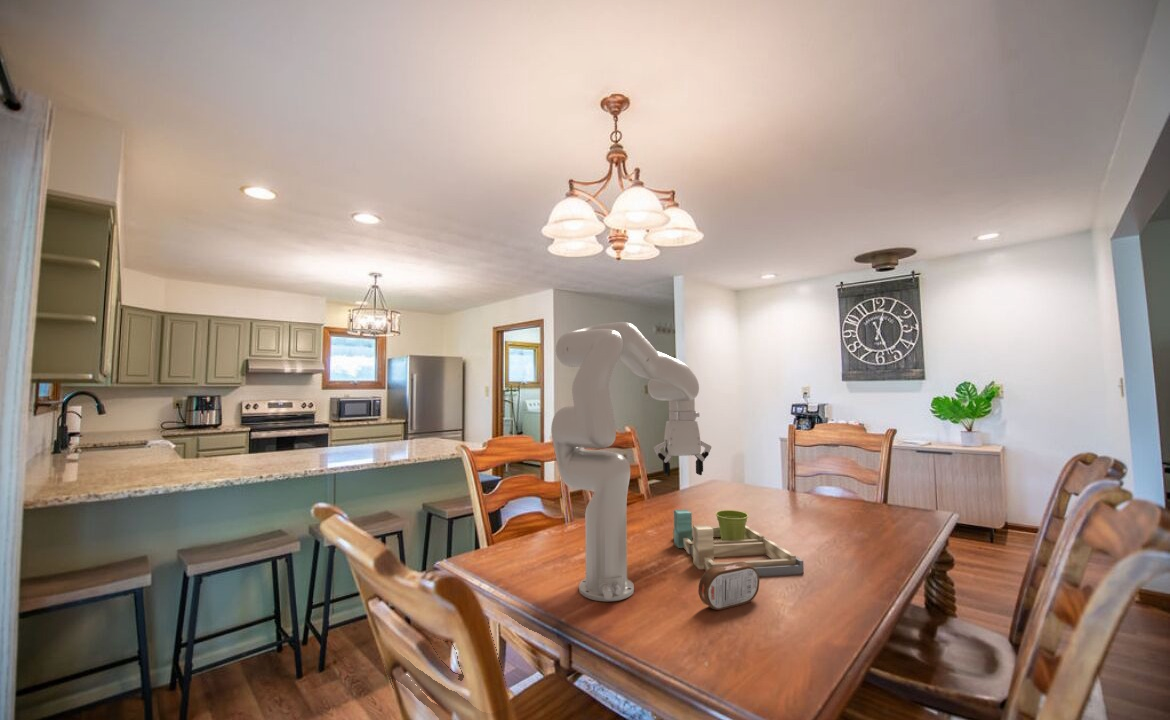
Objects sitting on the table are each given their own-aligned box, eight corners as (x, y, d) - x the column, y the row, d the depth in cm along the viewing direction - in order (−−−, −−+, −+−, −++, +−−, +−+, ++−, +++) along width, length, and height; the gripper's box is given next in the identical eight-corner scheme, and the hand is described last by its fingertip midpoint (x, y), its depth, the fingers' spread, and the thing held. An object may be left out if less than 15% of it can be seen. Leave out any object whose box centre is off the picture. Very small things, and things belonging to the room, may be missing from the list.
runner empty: (796, 572, 120) (795, 531, 120) (706, 577, 117) (706, 535, 117) (767, 552, 134) (766, 516, 135) (686, 556, 131) (686, 519, 132)
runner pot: (764, 550, 136) (763, 514, 136) (684, 554, 133) (684, 518, 133) (741, 535, 150) (740, 502, 150) (669, 538, 147) (668, 505, 147)
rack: (804, 573, 119) (804, 561, 119) (714, 579, 116) (714, 566, 116) (744, 534, 151) (744, 524, 151) (673, 537, 148) (672, 527, 148)
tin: (752, 595, 107) (751, 557, 107) (762, 601, 104) (761, 561, 104) (697, 609, 100) (696, 568, 101) (707, 615, 97) (706, 573, 98)
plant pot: (742, 551, 135) (742, 520, 136) (711, 544, 141) (710, 515, 142) (753, 542, 143) (752, 513, 143) (723, 536, 149) (722, 508, 149)
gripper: (705, 415, 147) (706, 471, 146) (650, 416, 145) (651, 473, 144) (714, 417, 139) (716, 476, 138) (657, 418, 137) (658, 478, 136)
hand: (683, 475), depth 141 cm, fingers open, 9 cm apart
